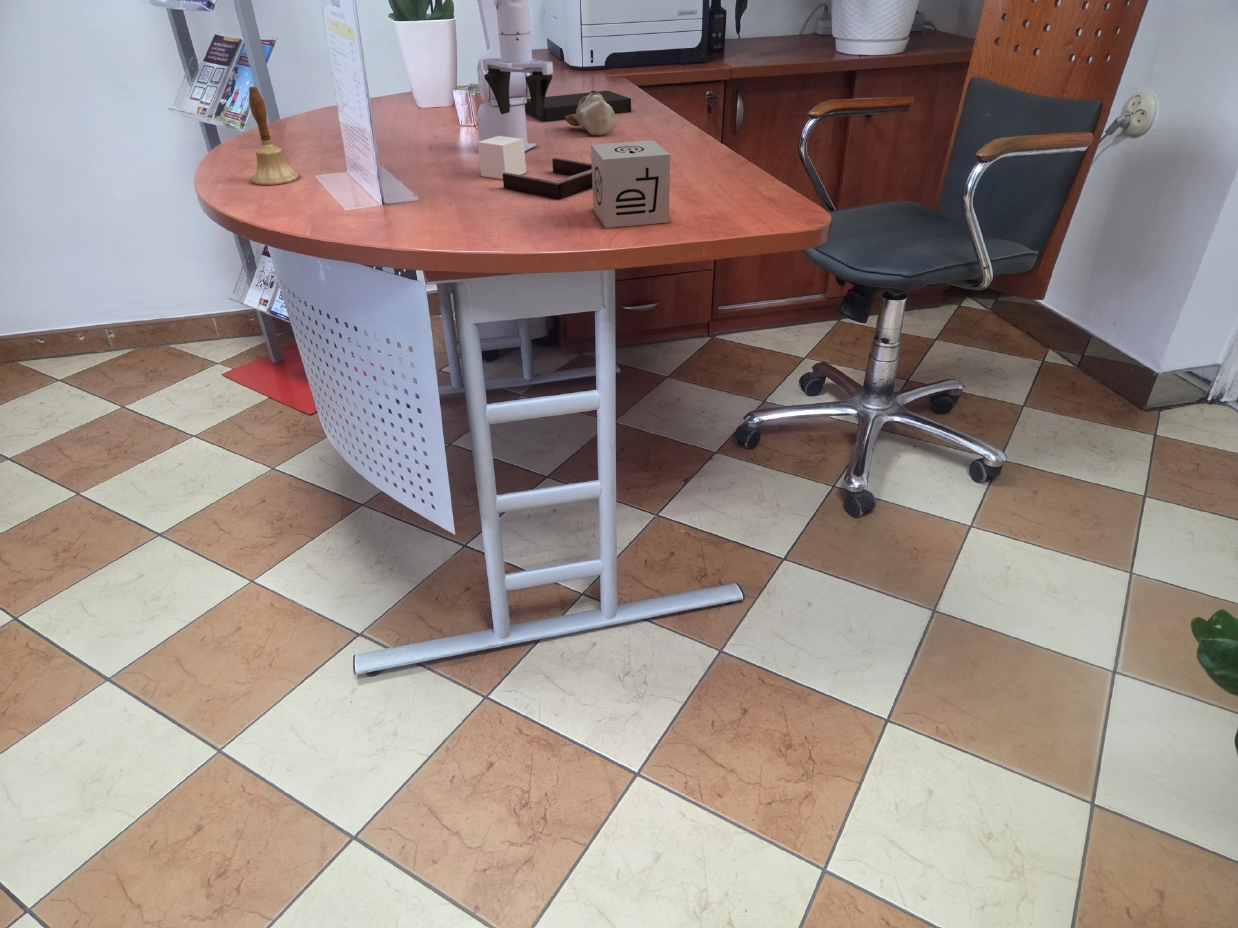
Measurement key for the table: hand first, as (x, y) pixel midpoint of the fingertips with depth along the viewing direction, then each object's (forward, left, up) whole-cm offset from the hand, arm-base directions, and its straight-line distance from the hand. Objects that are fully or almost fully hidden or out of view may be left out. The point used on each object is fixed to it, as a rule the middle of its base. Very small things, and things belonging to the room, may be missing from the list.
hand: (521, 114), depth 151 cm
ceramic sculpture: (+2, +31, -9) cm, 33 cm away
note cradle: (+12, -12, -9) cm, 19 cm away
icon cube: (+32, -26, -9) cm, 42 cm away
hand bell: (-40, -24, -9) cm, 48 cm away
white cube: (0, -8, -9) cm, 12 cm away
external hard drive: (-11, +51, -9) cm, 53 cm away
